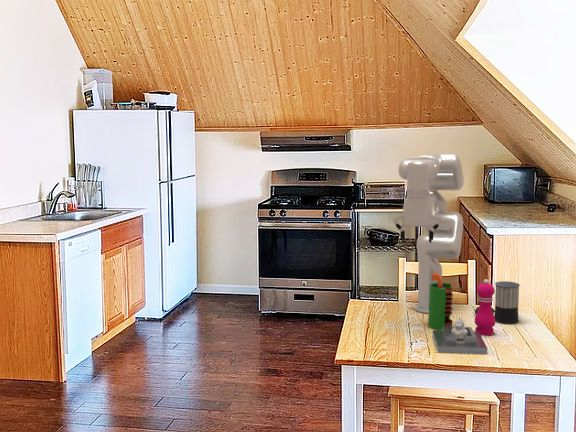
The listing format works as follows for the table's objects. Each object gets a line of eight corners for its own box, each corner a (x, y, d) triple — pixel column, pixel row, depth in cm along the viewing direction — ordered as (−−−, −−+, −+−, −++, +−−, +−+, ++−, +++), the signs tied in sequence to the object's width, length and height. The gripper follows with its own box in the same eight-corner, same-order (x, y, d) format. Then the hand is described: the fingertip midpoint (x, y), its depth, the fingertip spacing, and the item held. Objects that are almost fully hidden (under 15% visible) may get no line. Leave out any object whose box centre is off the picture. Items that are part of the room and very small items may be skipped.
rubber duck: (449, 339, 216) (449, 317, 215) (454, 334, 222) (454, 312, 221) (465, 342, 213) (465, 319, 212) (469, 336, 219) (470, 314, 218)
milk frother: (520, 325, 239) (522, 287, 238) (477, 323, 242) (478, 285, 240) (514, 315, 253) (515, 278, 252) (473, 313, 256) (474, 277, 254)
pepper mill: (470, 333, 230) (472, 279, 227) (479, 328, 235) (481, 276, 233) (489, 337, 225) (491, 282, 222) (498, 332, 230) (500, 279, 228)
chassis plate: (432, 335, 228) (432, 323, 227) (478, 337, 225) (478, 324, 225) (437, 352, 210) (437, 339, 209) (487, 354, 208) (487, 340, 207)
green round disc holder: (453, 330, 233) (454, 277, 231) (428, 329, 235) (429, 276, 232) (451, 323, 243) (453, 271, 240) (427, 321, 245) (429, 271, 242)
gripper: (440, 194, 231) (439, 240, 234) (392, 194, 233) (392, 239, 236) (443, 196, 224) (442, 243, 226) (393, 196, 226) (393, 243, 228)
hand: (416, 241), depth 231 cm, fingers open, 9 cm apart
